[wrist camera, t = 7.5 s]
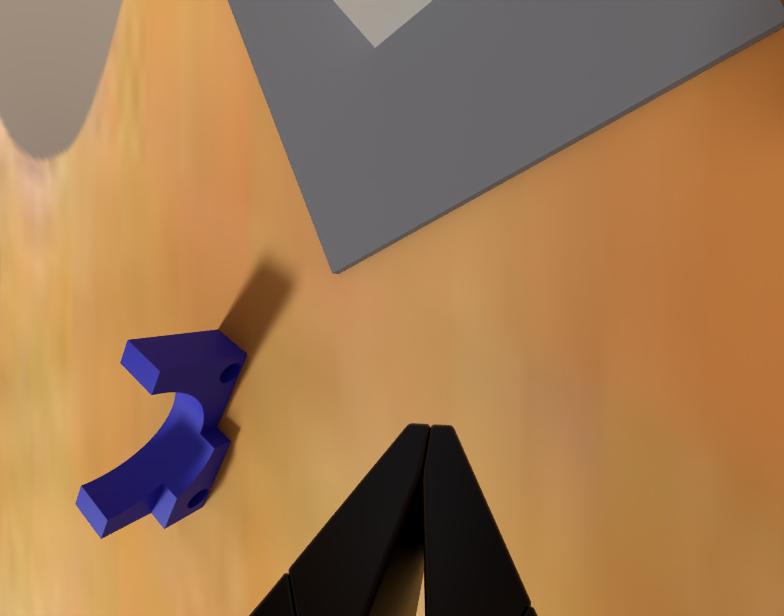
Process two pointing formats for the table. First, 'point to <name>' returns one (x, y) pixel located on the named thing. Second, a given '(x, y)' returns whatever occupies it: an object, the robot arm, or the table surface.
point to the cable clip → (170, 432)
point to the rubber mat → (464, 95)
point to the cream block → (380, 15)
